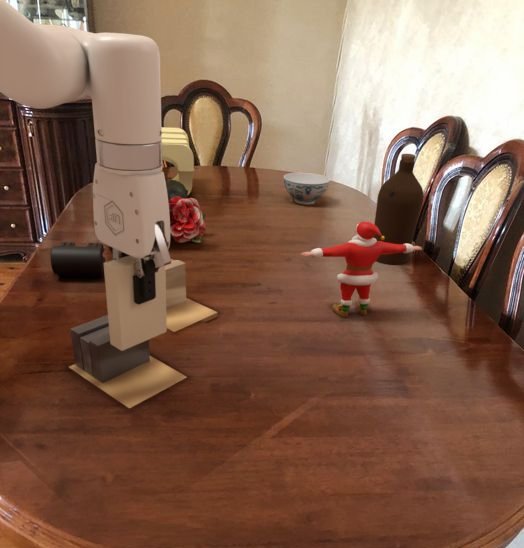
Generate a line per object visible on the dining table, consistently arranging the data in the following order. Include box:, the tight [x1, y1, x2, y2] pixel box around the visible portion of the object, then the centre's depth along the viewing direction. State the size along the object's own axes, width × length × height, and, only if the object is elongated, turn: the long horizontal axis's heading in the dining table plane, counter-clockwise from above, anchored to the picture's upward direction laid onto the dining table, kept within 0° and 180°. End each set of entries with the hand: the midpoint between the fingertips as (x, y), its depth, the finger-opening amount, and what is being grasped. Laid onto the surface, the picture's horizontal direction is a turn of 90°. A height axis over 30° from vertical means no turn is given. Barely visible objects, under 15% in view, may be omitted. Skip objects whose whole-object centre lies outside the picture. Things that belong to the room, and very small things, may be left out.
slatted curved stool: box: [161, 126, 195, 196], centre depth 169 cm, size 30×16×18 cm, turn 10°
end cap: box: [50, 241, 107, 278], centre depth 111 cm, size 10×7×7 cm
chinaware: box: [283, 172, 331, 206], centre depth 172 cm, size 15×15×8 cm
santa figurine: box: [300, 221, 423, 318], centre depth 100 cm, size 25×6×19 cm, turn 107°
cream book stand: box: [165, 258, 219, 333], centre depth 98 cm, size 15×11×9 cm
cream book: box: [104, 256, 168, 351], centre depth 72 cm, size 3×8×12 cm, turn 140°
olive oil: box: [373, 153, 424, 265], centre depth 127 cm, size 11×11×25 cm
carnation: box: [165, 179, 207, 244], centre depth 139 cm, size 16×18×35 cm
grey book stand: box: [68, 314, 188, 409], centre depth 80 cm, size 15×11×8 cm
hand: (137, 295), depth 71 cm, fingers closed on cream book, 2 cm apart
